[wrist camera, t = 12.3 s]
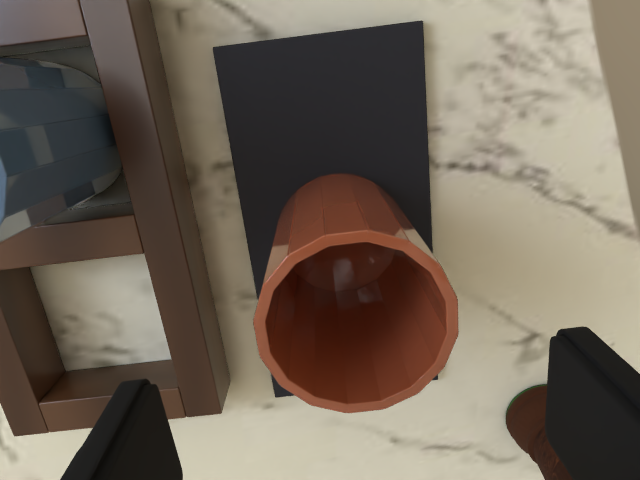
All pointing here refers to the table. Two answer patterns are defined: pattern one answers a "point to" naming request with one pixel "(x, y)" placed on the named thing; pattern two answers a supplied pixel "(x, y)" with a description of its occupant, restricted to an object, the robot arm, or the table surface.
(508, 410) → the chess piece
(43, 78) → the cup
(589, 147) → the table surface
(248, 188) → the placemat
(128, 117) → the holder
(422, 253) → the cup
